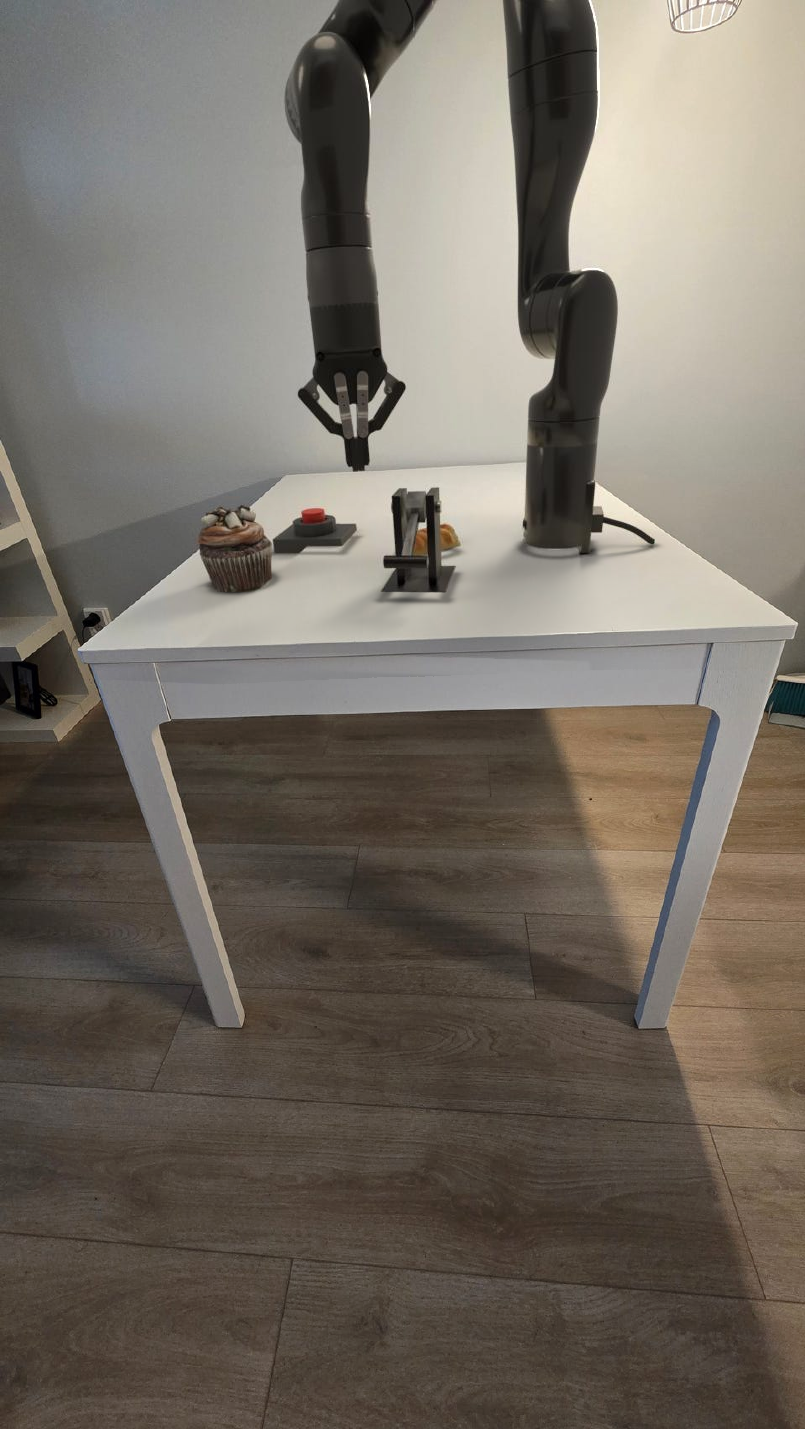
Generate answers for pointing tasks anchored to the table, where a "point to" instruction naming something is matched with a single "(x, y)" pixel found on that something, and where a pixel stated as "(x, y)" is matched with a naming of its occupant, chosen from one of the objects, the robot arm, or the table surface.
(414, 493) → the lever
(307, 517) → the button
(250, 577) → the cupcake
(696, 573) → the table surface
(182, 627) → the table surface
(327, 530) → the control block
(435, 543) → the bracket
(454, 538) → the pastry
